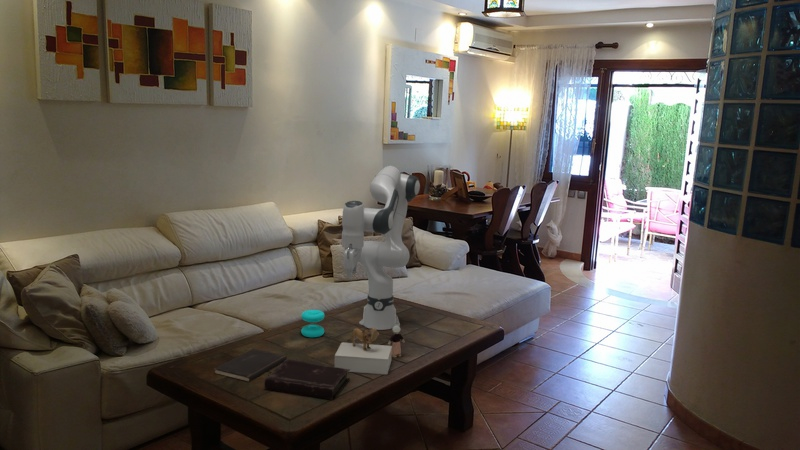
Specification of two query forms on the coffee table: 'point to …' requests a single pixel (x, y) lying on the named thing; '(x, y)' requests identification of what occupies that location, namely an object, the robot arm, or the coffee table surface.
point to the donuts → (312, 329)
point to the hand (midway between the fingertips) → (351, 276)
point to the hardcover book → (250, 365)
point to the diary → (307, 379)
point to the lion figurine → (364, 336)
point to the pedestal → (364, 358)
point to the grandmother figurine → (396, 341)
